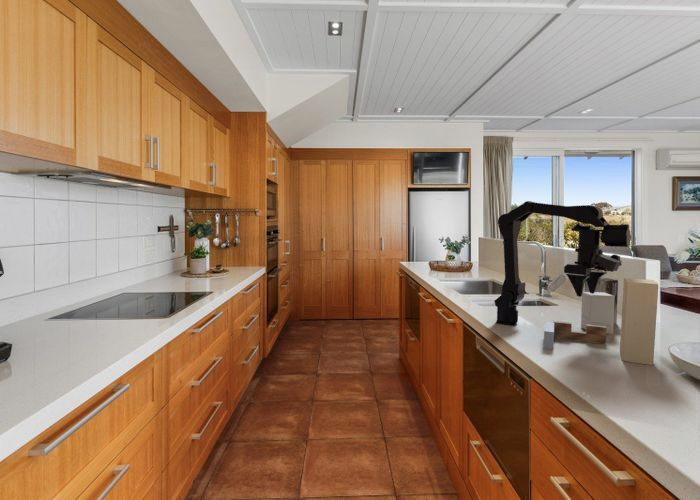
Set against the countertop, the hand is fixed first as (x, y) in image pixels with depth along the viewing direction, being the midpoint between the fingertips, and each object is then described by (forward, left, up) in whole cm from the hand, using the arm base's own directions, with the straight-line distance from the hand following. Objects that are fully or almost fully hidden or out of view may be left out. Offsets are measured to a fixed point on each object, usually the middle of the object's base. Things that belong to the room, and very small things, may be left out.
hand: (585, 294), depth 120 cm
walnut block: (-2, -5, -14) cm, 14 cm away
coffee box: (+6, +24, -14) cm, 29 cm away
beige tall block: (+11, -17, -14) cm, 24 cm away
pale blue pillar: (-10, -13, -14) cm, 21 cm away
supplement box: (+4, +11, -14) cm, 18 cm away
